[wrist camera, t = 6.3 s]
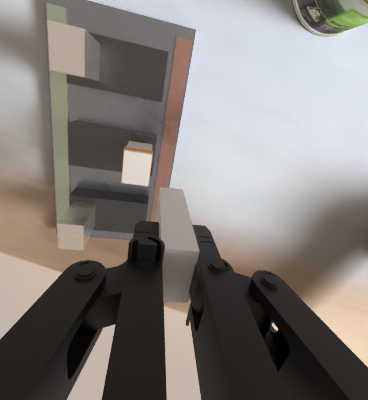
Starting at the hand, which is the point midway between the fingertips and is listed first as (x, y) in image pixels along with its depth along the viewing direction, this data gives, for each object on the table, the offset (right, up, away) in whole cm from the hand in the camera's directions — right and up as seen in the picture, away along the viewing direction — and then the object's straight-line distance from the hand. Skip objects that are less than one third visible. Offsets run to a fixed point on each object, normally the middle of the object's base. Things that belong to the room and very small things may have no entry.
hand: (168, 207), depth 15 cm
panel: (-7, +7, +13) cm, 16 cm away
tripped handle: (-4, +5, +9) cm, 11 cm away
